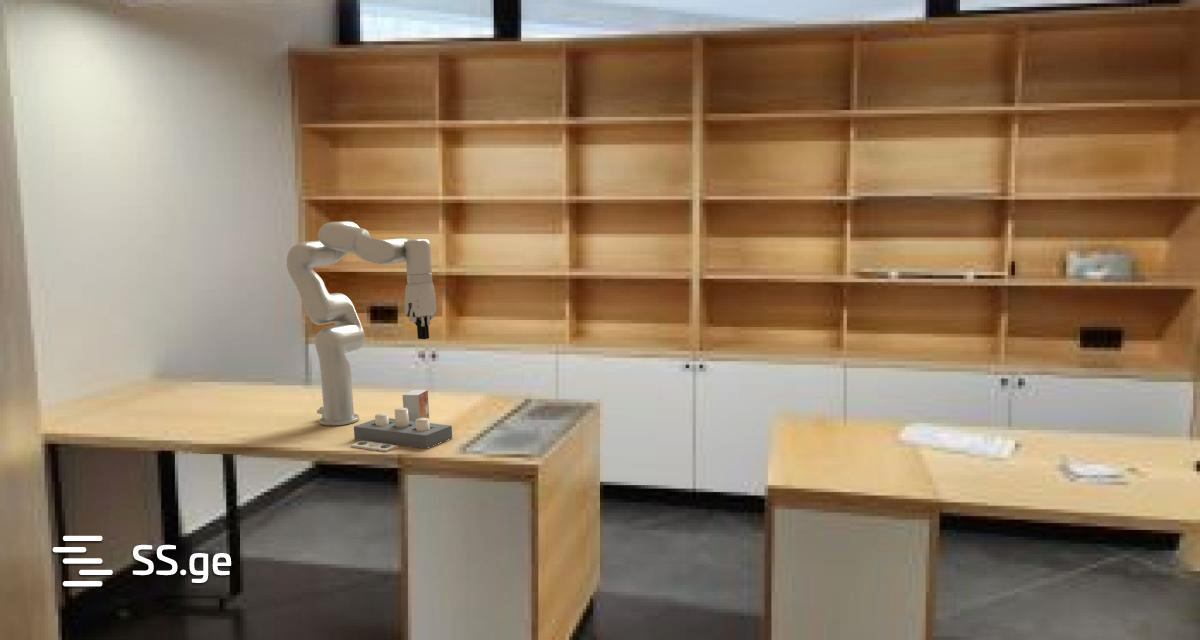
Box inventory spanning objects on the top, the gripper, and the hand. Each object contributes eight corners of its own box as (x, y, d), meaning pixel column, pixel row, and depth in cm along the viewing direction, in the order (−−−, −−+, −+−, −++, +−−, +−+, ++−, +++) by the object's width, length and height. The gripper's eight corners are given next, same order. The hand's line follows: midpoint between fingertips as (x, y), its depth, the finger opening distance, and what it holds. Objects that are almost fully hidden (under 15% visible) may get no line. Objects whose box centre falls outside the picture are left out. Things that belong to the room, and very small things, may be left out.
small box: (420, 427, 294) (418, 395, 293) (404, 427, 295) (401, 394, 294) (430, 421, 302) (428, 389, 300) (414, 420, 303) (412, 389, 302)
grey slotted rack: (354, 439, 283) (353, 426, 282) (381, 429, 293) (380, 417, 292) (426, 448, 269) (425, 435, 268) (452, 438, 279) (451, 425, 279)
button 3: (414, 442, 276) (412, 420, 275) (422, 438, 280) (421, 417, 279) (424, 443, 274) (423, 421, 273) (433, 440, 278) (432, 418, 277)
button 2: (393, 431, 280) (391, 410, 279) (402, 428, 283) (400, 407, 282) (403, 433, 278) (401, 411, 277) (412, 429, 281) (410, 408, 280)
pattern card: (350, 446, 274) (350, 444, 274) (362, 442, 278) (362, 439, 278) (386, 451, 267) (386, 449, 267) (398, 447, 272) (397, 444, 271)
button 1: (373, 437, 284) (372, 415, 283) (382, 433, 287) (381, 412, 287) (383, 438, 282) (382, 416, 281) (392, 435, 286) (391, 413, 285)
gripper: (426, 276, 292) (429, 334, 294) (393, 281, 279) (397, 342, 281) (444, 277, 288) (448, 335, 290) (413, 282, 275) (417, 343, 278)
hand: (423, 338), depth 286 cm, fingers closed
